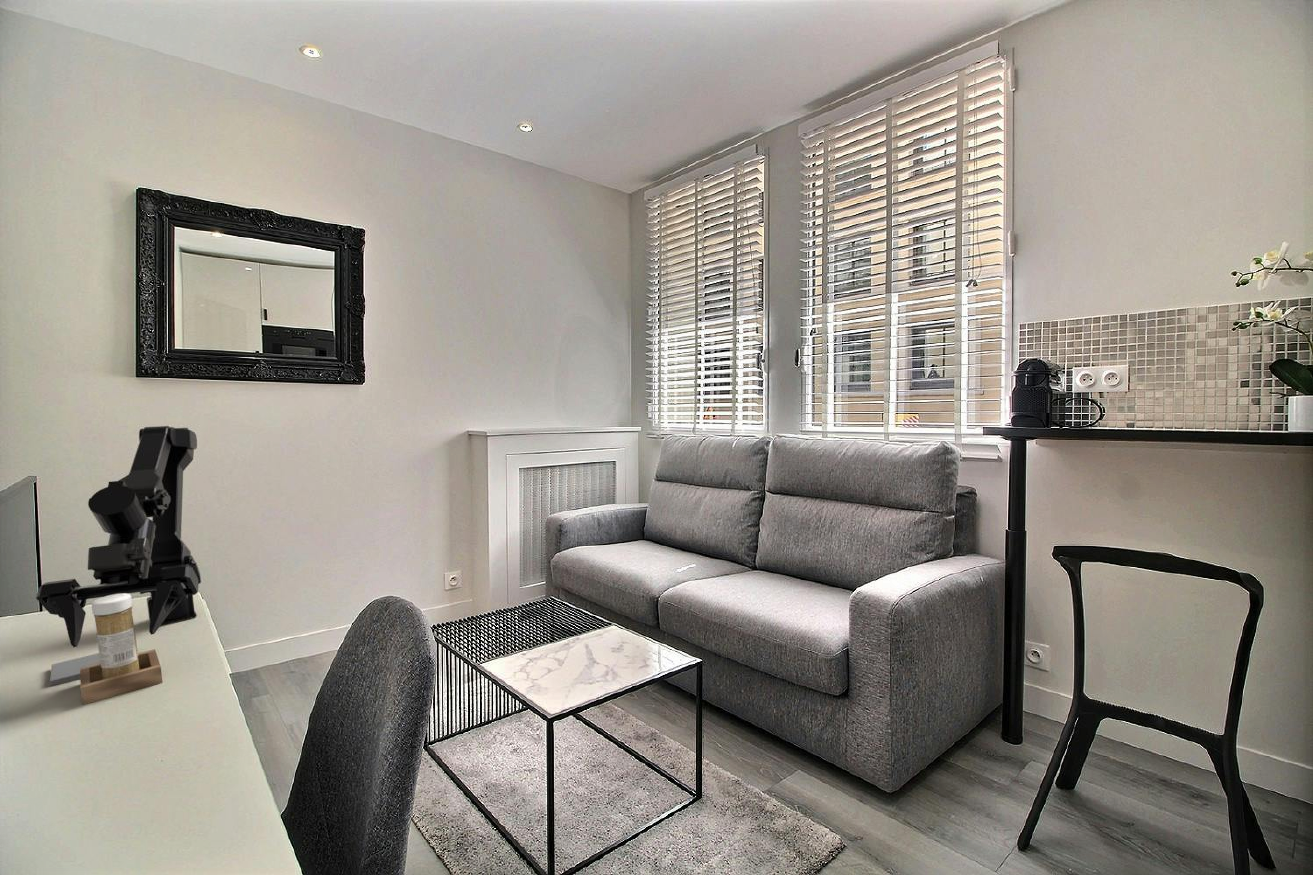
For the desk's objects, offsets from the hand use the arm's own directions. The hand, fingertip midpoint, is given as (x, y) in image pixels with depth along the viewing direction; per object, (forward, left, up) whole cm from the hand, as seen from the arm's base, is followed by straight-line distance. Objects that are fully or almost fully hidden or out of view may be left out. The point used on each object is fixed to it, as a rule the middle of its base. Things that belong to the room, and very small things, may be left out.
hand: (113, 639), depth 94 cm
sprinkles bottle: (0, -1, -8) cm, 8 cm away
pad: (+3, -12, -7) cm, 14 cm away
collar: (0, -1, -7) cm, 7 cm away
